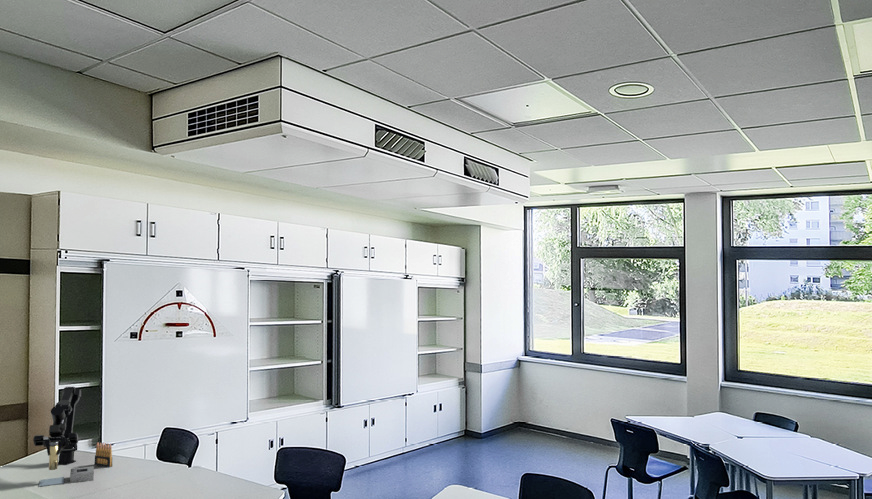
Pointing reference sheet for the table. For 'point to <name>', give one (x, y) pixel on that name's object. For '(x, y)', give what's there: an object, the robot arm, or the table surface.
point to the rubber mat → (51, 481)
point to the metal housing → (81, 474)
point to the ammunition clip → (103, 455)
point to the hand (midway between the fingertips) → (53, 454)
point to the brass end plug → (53, 455)
